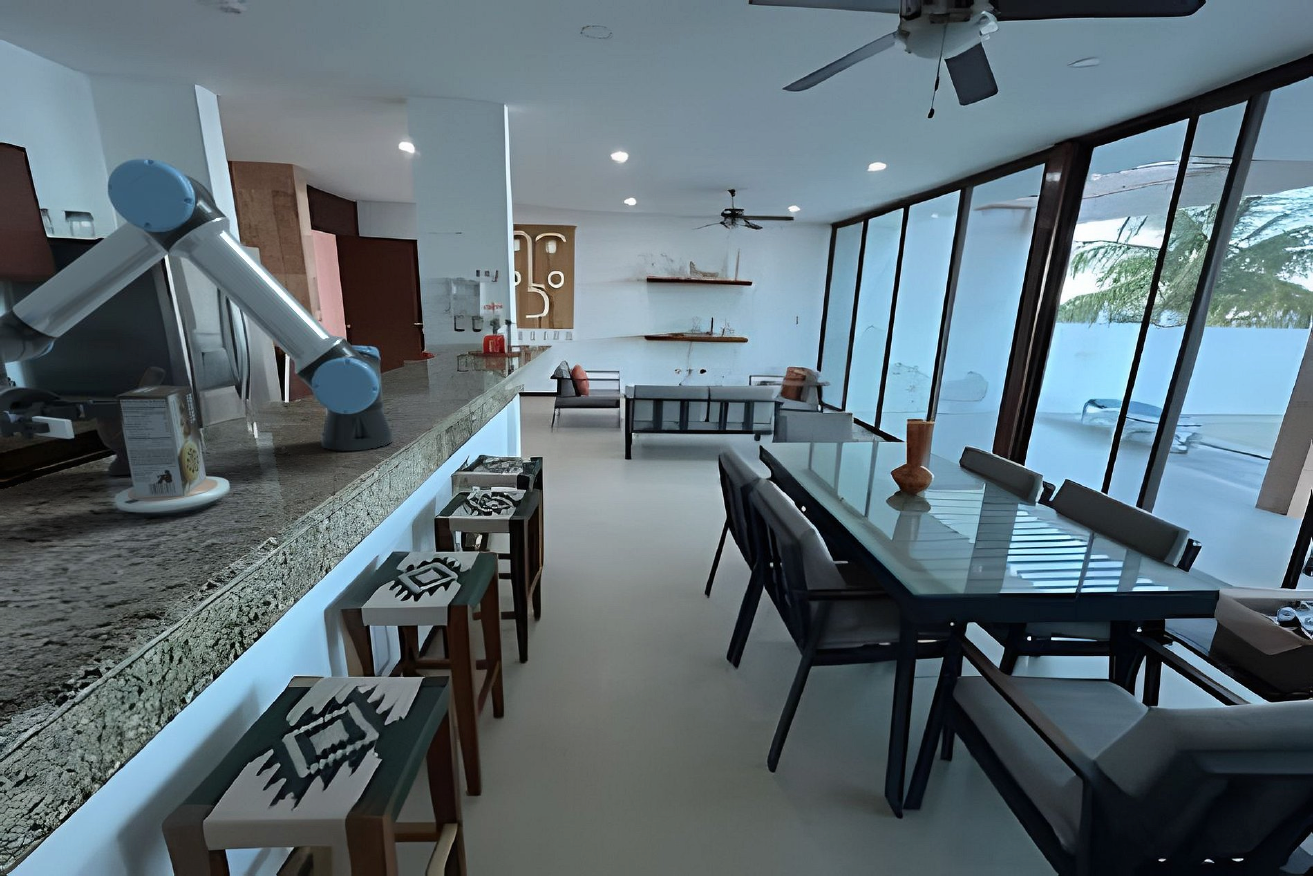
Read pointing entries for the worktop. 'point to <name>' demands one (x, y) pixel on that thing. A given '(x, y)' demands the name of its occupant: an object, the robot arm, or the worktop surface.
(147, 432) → the coffee box
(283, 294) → the robot arm
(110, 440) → the mortar and pestle
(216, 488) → the turntable platter
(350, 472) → the worktop surface
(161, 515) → the turntable base
